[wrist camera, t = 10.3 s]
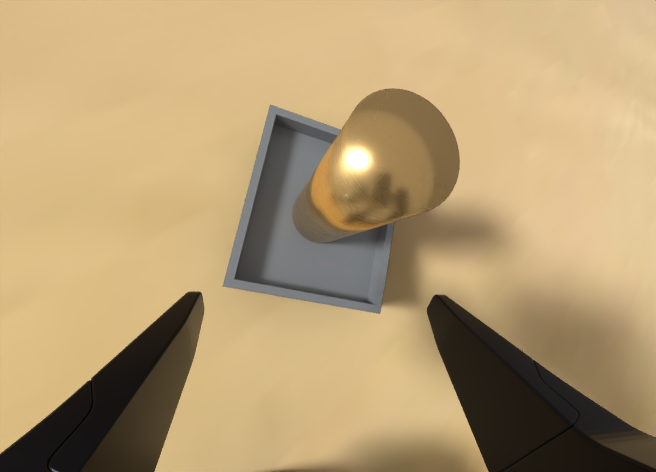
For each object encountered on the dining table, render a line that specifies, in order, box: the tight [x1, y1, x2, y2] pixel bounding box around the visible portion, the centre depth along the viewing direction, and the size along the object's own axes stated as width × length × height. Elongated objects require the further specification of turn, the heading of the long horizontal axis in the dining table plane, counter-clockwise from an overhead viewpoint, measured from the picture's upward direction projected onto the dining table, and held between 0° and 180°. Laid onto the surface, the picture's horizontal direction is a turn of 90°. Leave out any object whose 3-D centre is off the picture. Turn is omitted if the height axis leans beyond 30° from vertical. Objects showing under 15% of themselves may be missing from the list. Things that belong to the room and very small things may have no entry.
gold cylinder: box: [292, 89, 460, 243], centre depth 15 cm, size 5×5×12 cm
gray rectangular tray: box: [223, 105, 395, 314], centre depth 22 cm, size 14×12×4 cm
